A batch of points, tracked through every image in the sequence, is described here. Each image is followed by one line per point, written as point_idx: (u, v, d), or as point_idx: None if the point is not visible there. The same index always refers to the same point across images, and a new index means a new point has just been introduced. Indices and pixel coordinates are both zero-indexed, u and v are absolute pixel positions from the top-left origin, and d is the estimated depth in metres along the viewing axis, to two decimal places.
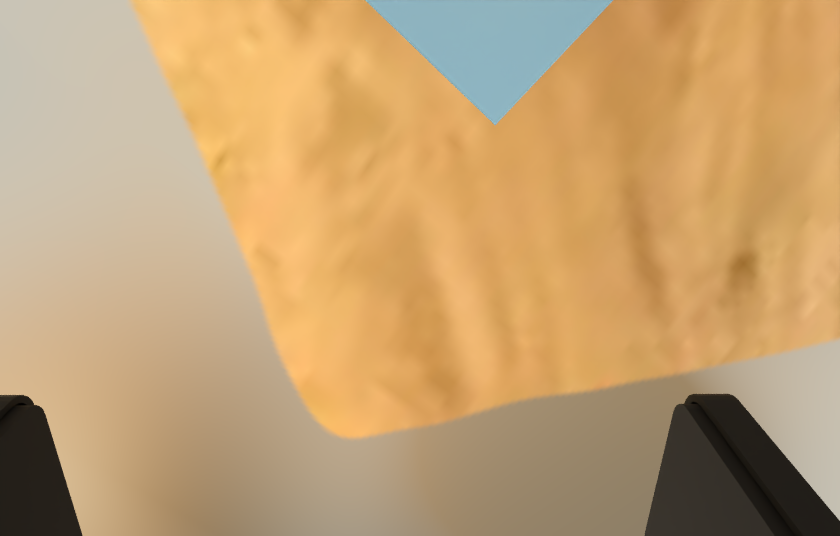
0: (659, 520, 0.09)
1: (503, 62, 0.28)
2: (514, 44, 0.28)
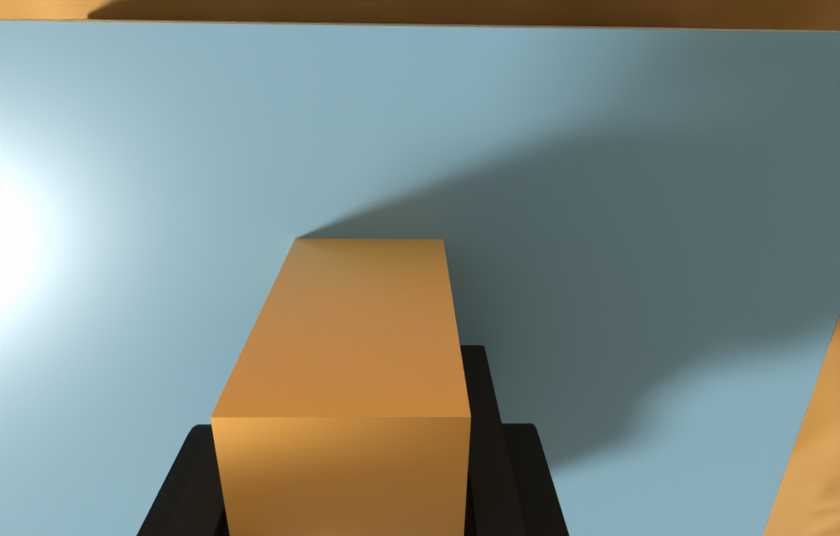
0: None
1: None
2: None
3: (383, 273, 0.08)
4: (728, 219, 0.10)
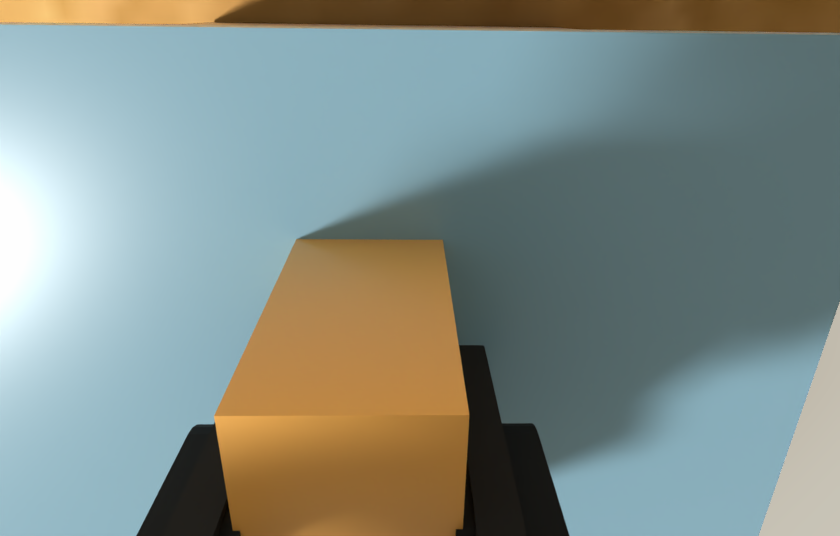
0: None
1: None
2: None
3: (383, 273, 0.08)
4: (725, 219, 0.10)
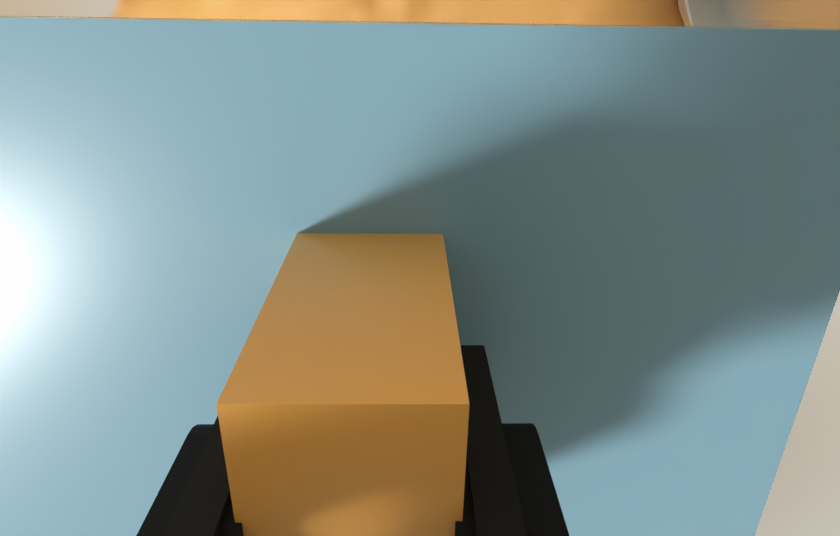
0: None
1: None
2: None
3: (384, 266, 0.08)
4: (723, 214, 0.10)
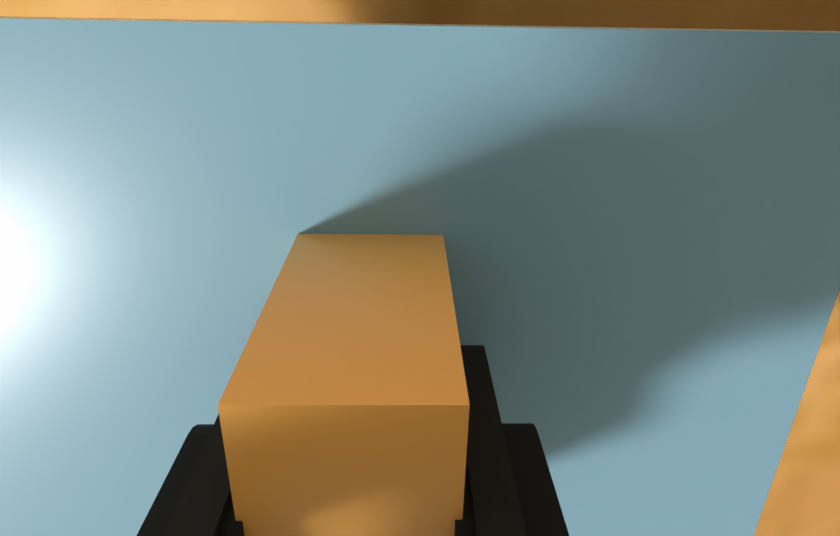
0: None
1: None
2: None
3: (384, 267, 0.08)
4: (723, 216, 0.10)
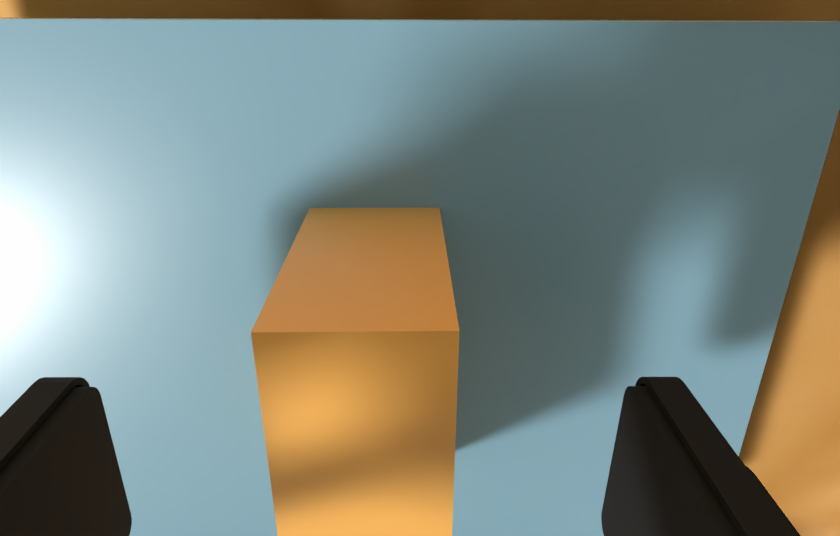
0: (612, 499, 0.09)
1: (135, 507, 0.14)
2: (173, 501, 0.14)
3: (387, 233, 0.10)
4: (689, 187, 0.11)
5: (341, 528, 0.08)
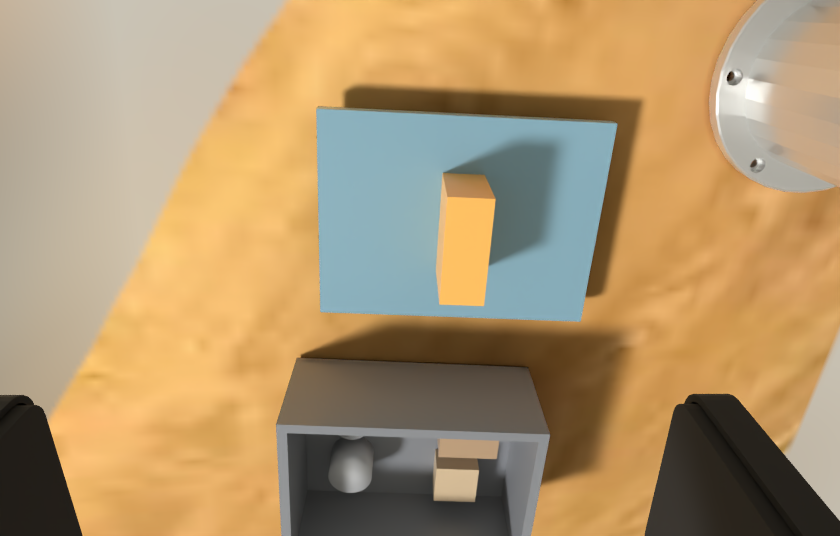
0: (659, 520, 0.09)
1: (359, 287, 0.36)
2: (374, 284, 0.36)
3: (470, 180, 0.32)
4: (566, 172, 0.33)
5: (460, 255, 0.30)
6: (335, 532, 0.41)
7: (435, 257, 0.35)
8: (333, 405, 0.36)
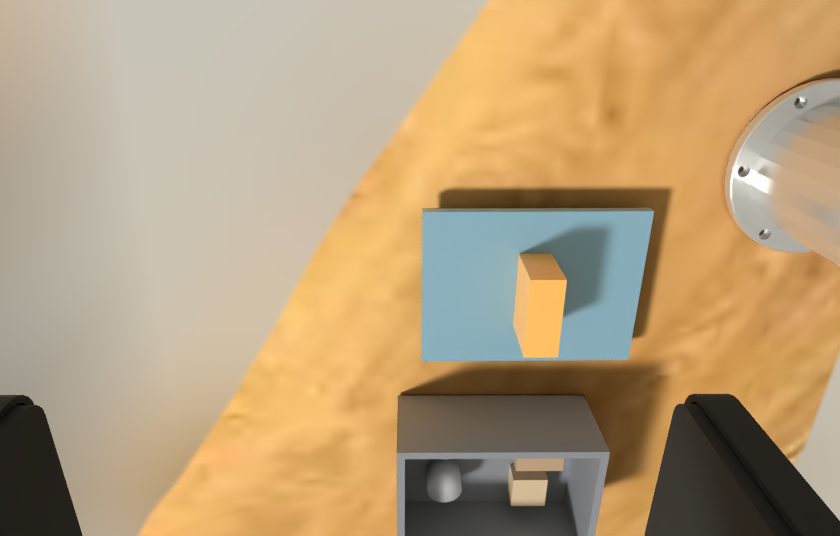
0: (659, 520, 0.09)
1: (452, 341, 0.46)
2: (464, 339, 0.46)
3: (542, 260, 0.41)
4: (615, 248, 0.43)
5: (539, 321, 0.40)
6: (434, 534, 0.51)
7: (512, 316, 0.45)
8: (436, 435, 0.45)
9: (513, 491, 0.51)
